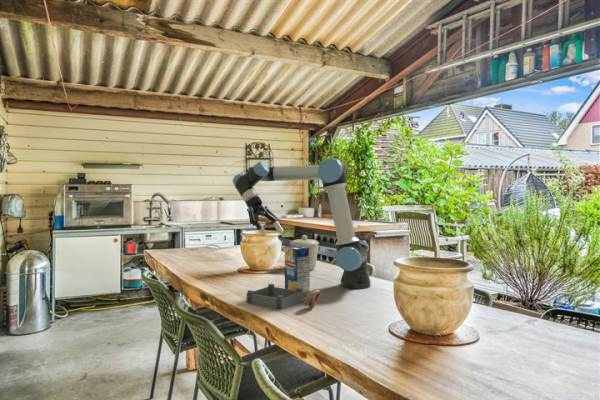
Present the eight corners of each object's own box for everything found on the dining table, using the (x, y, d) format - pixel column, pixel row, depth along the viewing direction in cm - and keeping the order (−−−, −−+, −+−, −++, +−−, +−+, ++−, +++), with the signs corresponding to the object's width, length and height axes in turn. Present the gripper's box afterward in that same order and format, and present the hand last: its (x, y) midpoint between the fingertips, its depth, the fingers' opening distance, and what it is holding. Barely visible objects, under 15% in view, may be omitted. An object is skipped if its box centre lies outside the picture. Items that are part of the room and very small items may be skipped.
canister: (319, 272, 243) (319, 236, 242) (289, 272, 243) (289, 236, 242) (318, 266, 261) (318, 233, 260) (290, 266, 261) (290, 233, 261)
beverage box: (297, 298, 185) (296, 249, 184) (284, 292, 194) (284, 246, 193) (309, 295, 188) (309, 248, 188) (297, 291, 198) (296, 245, 197)
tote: (303, 300, 180) (303, 288, 180) (282, 309, 167) (282, 296, 167) (269, 294, 191) (269, 283, 191) (246, 302, 177) (246, 290, 177)
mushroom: (307, 311, 163) (307, 291, 163) (300, 308, 169) (300, 288, 169) (323, 309, 167) (323, 289, 167) (316, 305, 172) (316, 286, 172)
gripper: (263, 204, 220) (283, 236, 212) (230, 204, 199) (251, 240, 192) (272, 195, 217) (292, 227, 209) (239, 195, 196) (261, 230, 188)
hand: (273, 233), depth 200 cm, fingers open, 13 cm apart
